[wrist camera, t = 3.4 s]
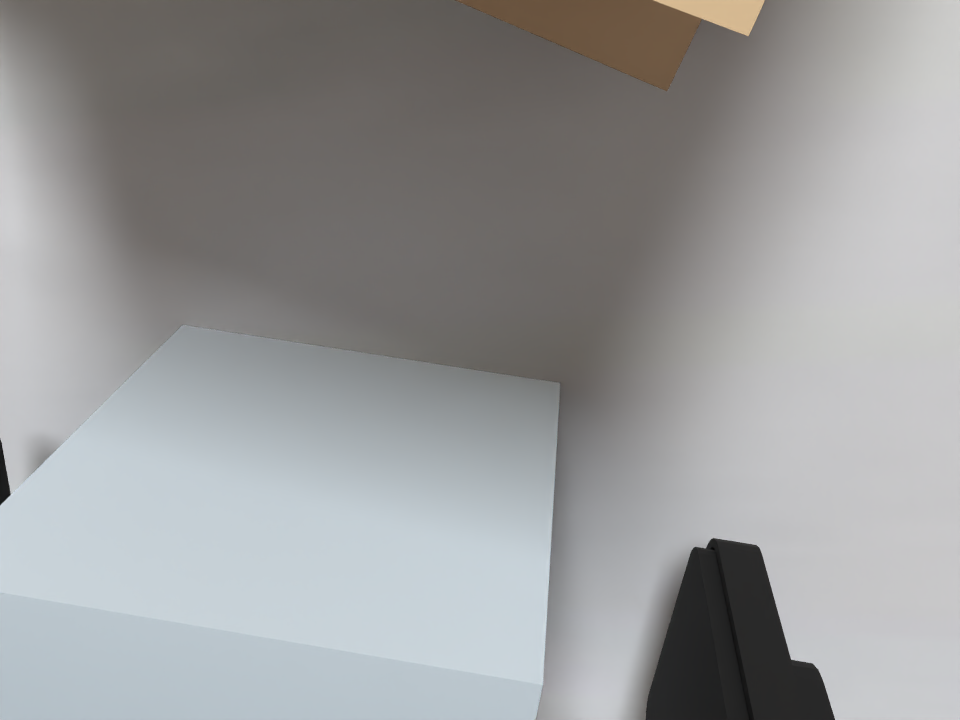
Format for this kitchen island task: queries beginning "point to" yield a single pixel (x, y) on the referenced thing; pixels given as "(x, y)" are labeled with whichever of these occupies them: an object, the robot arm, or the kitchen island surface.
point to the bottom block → (607, 31)
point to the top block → (721, 12)
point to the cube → (285, 542)
